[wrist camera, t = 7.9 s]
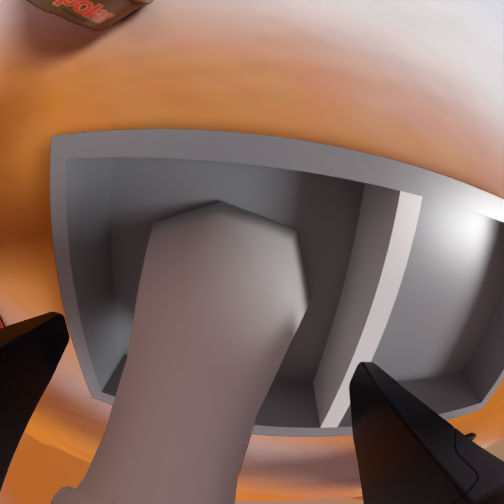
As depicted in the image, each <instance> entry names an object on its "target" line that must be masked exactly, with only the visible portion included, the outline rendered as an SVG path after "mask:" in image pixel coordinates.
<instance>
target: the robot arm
mask: <svg viewBox="0 0 504 504" xmlns="http://www.w3.org/2000/svg"><path fill="white" fill-rule="evenodd" d="M68 341H69V333H68V330H67V326H66V322H65V318H64V316H63V315H62V314H59V313H56V312H49V313H46V314H43V315H40V316H37V317H34V318H31V319H28V320H24V321H21V322H18V323H15V324H12V325H9V326H6V327H3V328H0V491H1V488H2V485H3V482H4V479H5V476H6V473H7V471H8V468H9V465H10V463H11V460H12V458H13V455H14V453H15V451H16V448H17V446H18V443H19V441H20V439H21V437H22V435H23V433H24V430H25V428H26V426H27V424H28V422H29V420H30V418H31V416H32V414H33V412H34V410H35V408H36V406H37V404H38V402H39V400H40V398H41V397H42V395H43V393H44V391H45V389H46V387H47V386H48V384H49V382H50V380H51V378H52V376H53V374H54V372H55V370H56V367H57V365H58V363H59V361H60V359H61V357H62V354H63V352H64V350H65V348H66V346H67V344H68ZM349 395H350V406H351V420H352V432H353V439H354V444H355V450H356V455H357V461H358V467H359V474H360V480H361V487H362V494H363V501H364V504H504V462H503V461H502V460H500V459H499V458H497V457H496V456H494V455H492V454H491V453H489V452H487V451H486V450H484V449H483V448H481V447H480V446H478V445H477V444H475V443H474V442H473V441H472V440H473V439H474V438H475V437H476V435H475V433H474V434H471V435H469V436H465V435H463V434H462V433H461V432H460V431H458V430H457V429H456V428H455V429H454V427H453V426H452V425H451V424H450V423H448V422H447V421H446V420H445V419H443V418H442V417H441V416H440V415H438V414H437V413H436V412H435V411H433V410H432V409H431V408H430V407H428V406H427V405H426V404H425V403H423V402H422V401H421V400H420V399H418V398H417V397H416V396H415V395H413V394H412V393H411V392H410V391H408V390H407V389H406V388H405V387H403V386H402V385H401V384H400V383H399V382H397V381H396V380H395V379H394V378H392V377H391V376H390V375H389V374H387V373H386V372H385V371H384V370H382V369H381V368H380V367H379V366H378V365H376V364H375V363H374V362H360V363H359V364H358V365H357V367H356V370H355V372H354V374H353V376H352V379H351V381H350V384H349Z"/></svg>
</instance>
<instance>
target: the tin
mask: <svg viewBox="0 0 504 504" xmlns="http://www.w3.org/2000/svg"><path fill="white" fill-rule="evenodd" d="M28 1H29V2H30V3H31V4H33V5H34V6H36V7H37V8H39V9H41V10H43V11H45V12H48V13H52V14H55V15H57V16H60V17H62V18H64V19H66V20H68V21H70V22H73V23H75V24H78V25H81V26H83V27H86V28H90V29H91V30H93V31H100V30H103V29H106V28H108V27H109V26H111V25H113V24H114V23H116V22H118V21H119V20H121V19H122V18H124V17H125V16H127V15H128V14H130V13H131V12H133V11H135V10H136V9H138V8H140V7H141V6H143V5H145V4H150V3H152V2H153V0H28Z"/></svg>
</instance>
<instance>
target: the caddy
mask: <svg viewBox="0 0 504 504" xmlns="http://www.w3.org/2000/svg"><path fill="white" fill-rule="evenodd" d="M219 202H225V203H228V204H231V205H233V206H236V207H239V208H241V209H244V210H246V211H249V212H252V213H254V214H257V215H259V216H262V217H264V218H267V219H270V220H272V221H275V222H277V223H280V224H282V225H285V226H287V227H290V228H292V229H295V230H296V231H297V235H298V239H299V244H300V248H301V252H302V256H303V261H304V265H305V270H306V274H307V279H308V283H309V288H310V293H311V300H310V302H309V305H308V307H307V310H306V312H305V314H304V316H303V318H302V320H301V322H300V325H299V327H298V329H297V331H296V333H295V335H294V337H293V339H292V341H291V343H290V345H289V347H288V349H287V351H286V354H285V356H284V358H283V360H282V363H281V365H280V367H279V369H278V371H277V374H276V376H275V378H274V380H273V382H272V384H271V386H270V389H269V391H268V393H267V395H266V397H265V399H264V401H263V403H262V405H261V407H260V409H259V411H258V413H257V417H256V420H255V424H254V427H253V430H252V434H255V435H268V436H288V437H327V436H347V435H353V432H352V420H351V406H350V395H349V384H350V381H351V379H352V376H353V374H354V372H355V370H356V367H357V365H358V364H359V363H360V362H374V363H375V364H376V365H378V366H379V367H380V368H381V369H382V370H384V371H385V372H386V373H387V374H389V375H390V376H391V377H392V378H394V379H395V380H396V381H397V382H399V383H400V384H401V385H402V386H403V387H405V388H406V389H407V390H408V391H410V392H411V393H412V394H413V395H415V396H416V397H417V398H418V399H420V400H421V401H422V402H423V403H425V404H426V405H427V406H428V407H430V408H431V409H432V410H433V411H435V412H436V413H437V414H438V415H440V416H441V417H442V418H443V419H445V420H447V419H451V418H455V417H458V416H462V415H465V414H468V413H472V412H475V411H478V410H481V409H482V408H483V407H484V406H485V404H486V403H487V402H488V400H489V399H490V397H491V396H492V395H493V393H494V392H495V390H496V389H497V387H498V386H499V384H500V383H501V381H502V380H503V378H504V199H501V198H499V197H497V196H495V195H492V194H490V193H488V192H485V191H483V190H481V189H478V188H476V187H473V186H471V185H468V184H465V183H463V182H460V181H458V180H455V179H452V178H449V177H446V176H444V175H441V174H438V173H435V172H432V171H429V170H426V169H422V168H419V167H416V166H413V165H409V164H406V163H402V162H399V161H395V160H391V159H388V158H384V157H380V156H376V155H372V154H368V153H364V152H359V151H355V150H350V149H346V148H341V147H336V146H331V145H326V144H320V143H315V142H309V141H303V140H296V139H290V138H283V137H275V136H267V135H259V134H249V133H239V132H227V131H212V130H191V129H130V130H110V131H95V132H84V133H74V134H66V135H58V136H52V140H51V155H50V209H51V225H52V237H53V246H54V255H55V262H56V269H57V275H58V281H59V286H60V292H61V297H62V301H63V306H64V311H65V315H66V319H67V323H68V327H69V331H70V334H71V338H72V341H73V345H74V348H75V351H76V355H77V358H78V361H79V364H80V367H81V370H82V373H83V375H84V378H85V381H86V384H87V386H88V389H89V391H90V394H91V396H92V398H95V399H97V400H100V401H103V402H106V403H108V404H111V405H113V403H114V400H115V396H116V393H117V389H118V386H119V383H120V379H121V376H122V373H123V370H124V366H125V363H126V360H127V355H128V348H129V342H130V336H131V330H132V324H133V319H134V311H135V304H136V297H137V291H138V286H139V281H140V277H141V272H142V267H143V263H144V258H145V254H146V250H147V246H148V242H149V238H150V234H151V230H152V227H153V223H155V222H158V221H161V220H164V219H167V218H170V217H174V216H177V215H180V214H183V213H186V212H189V211H193V210H196V209H199V208H202V207H206V206H209V205H212V204H216V203H219Z"/></svg>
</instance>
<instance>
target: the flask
mask: <svg viewBox="0 0 504 504" xmlns="http://www.w3.org/2000/svg"><path fill="white" fill-rule="evenodd" d="M310 300H311V293H310V288H309V283H308V279H307V274H306V270H305V265H304V261H303V256H302V252H301V248H300V244H299V239H298V235H297V231H296V230H295V229H292V228H290V227H287V226H285V225H282V224H280V223H277V222H275V221H272V220H270V219H267V218H264V217H262V216H259V215H257V214H254V213H252V212H249V211H246V210H244V209H241V208H239V207H236V206H233V205H231V204H228V203H225V202H219V203H216V204H212V205H209V206H206V207H202V208H199V209H196V210H193V211H189V212H186V213H183V214H180V215H177V216H174V217H170V218H167V219H164V220H161V221H158V222H155V223H153V227H152V230H151V234H150V238H149V242H148V246H147V250H146V254H145V258H144V263H143V267H142V272H141V277H140V281H139V286H138V291H137V297H136V304H135V311H134V319H133V324H132V330H131V336H130V342H129V348H128V355H127V360H126V363H125V366H124V370H123V373H122V376H121V379H120V383H119V386H118V389H117V393H116V396H115V400H114V403H113V407H112V411H111V414H110V418H109V422H108V426H107V430H106V432H105V434H104V436H103V438H102V440H101V443H100V445H99V447H98V449H97V451H96V454H95V456H94V458H93V460H92V462H91V465H90V467H89V469H88V472H87V474H86V476H85V477H84V479H83V480H82V482H81V483H80V484H79V486H78V487H77V489H76V488H73V487H69V486H66V487H63V488H61V489H60V490H59V491H58V492H57V493H56V494H55V495H54V497H53V499H52V501H51V504H234V503H235V495H236V487H237V479H238V475H239V472H240V469H241V466H242V463H243V460H244V457H245V453H246V450H247V447H248V444H249V440H250V437H251V434H252V430H253V427H254V424H255V420H256V417H257V413H258V411H259V409H260V407H261V405H262V403H263V401H264V399H265V397H266V395H267V393H268V391H269V389H270V386H271V384H272V382H273V380H274V378H275V376H276V374H277V371H278V369H279V367H280V365H281V363H282V360H283V358H284V356H285V354H286V351H287V349H288V347H289V345H290V343H291V341H292V339H293V337H294V335H295V333H296V331H297V329H298V327H299V325H300V322H301V320H302V318H303V316H304V314H305V312H306V310H307V307H308V305H309V302H310Z"/></svg>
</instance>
